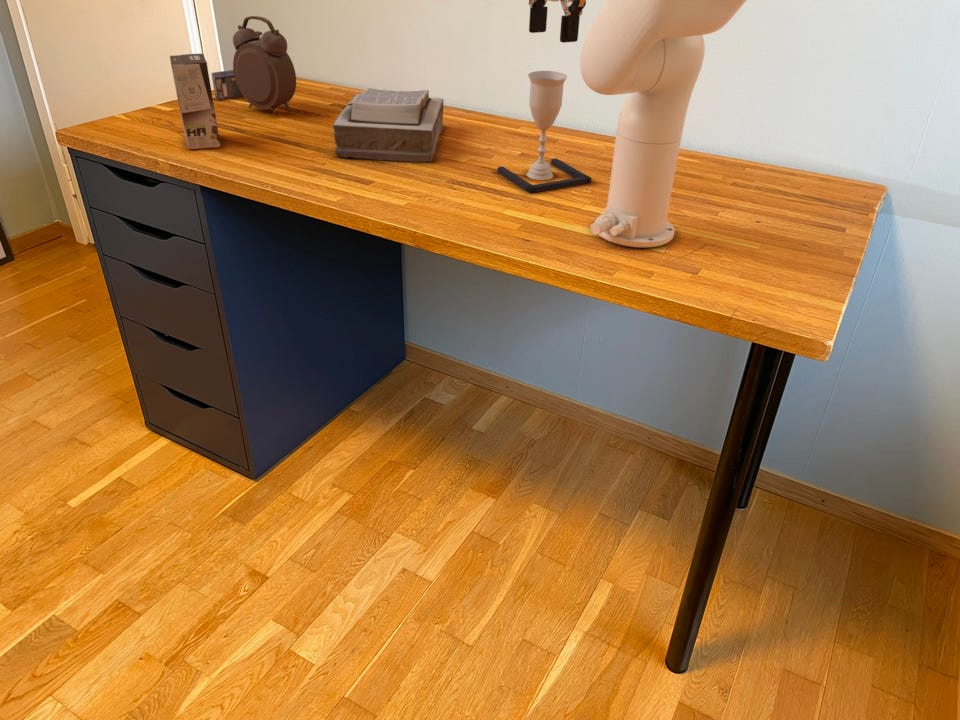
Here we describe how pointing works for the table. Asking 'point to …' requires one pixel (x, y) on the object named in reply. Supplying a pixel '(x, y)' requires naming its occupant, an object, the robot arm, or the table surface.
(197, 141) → the coffee box
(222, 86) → the mini dv tape
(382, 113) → the bible
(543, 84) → the chalice
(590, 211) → the table surface
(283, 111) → the table surface
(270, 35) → the alarm clock
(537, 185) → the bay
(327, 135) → the table surface
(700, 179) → the table surface
